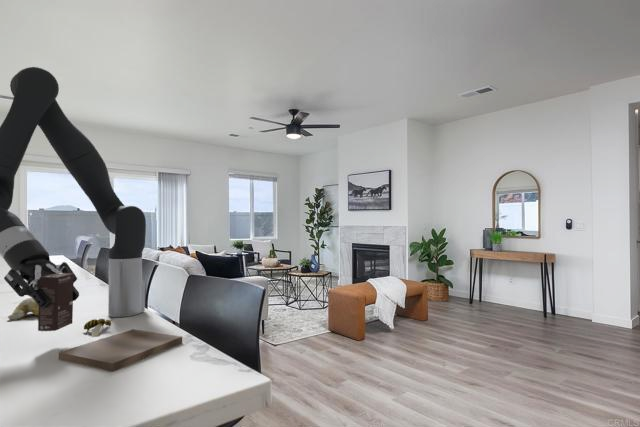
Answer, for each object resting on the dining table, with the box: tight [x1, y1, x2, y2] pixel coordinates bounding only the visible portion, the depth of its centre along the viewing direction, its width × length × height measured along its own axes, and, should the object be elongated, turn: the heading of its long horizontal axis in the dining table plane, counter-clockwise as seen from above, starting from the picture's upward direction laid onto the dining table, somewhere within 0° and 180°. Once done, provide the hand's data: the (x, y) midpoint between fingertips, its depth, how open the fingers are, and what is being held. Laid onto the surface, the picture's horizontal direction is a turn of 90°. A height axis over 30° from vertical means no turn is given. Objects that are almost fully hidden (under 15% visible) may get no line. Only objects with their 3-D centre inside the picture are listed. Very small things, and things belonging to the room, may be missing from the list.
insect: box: [83, 317, 115, 338], centre depth 98 cm, size 11×6×5 cm, turn 16°
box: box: [37, 273, 75, 332], centre depth 87 cm, size 6×4×12 cm
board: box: [57, 328, 183, 372], centre depth 83 cm, size 18×16×2 cm
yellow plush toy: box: [7, 297, 39, 321], centre depth 116 cm, size 10×6×15 cm
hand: (62, 301), depth 86 cm, fingers closed on box, 6 cm apart
